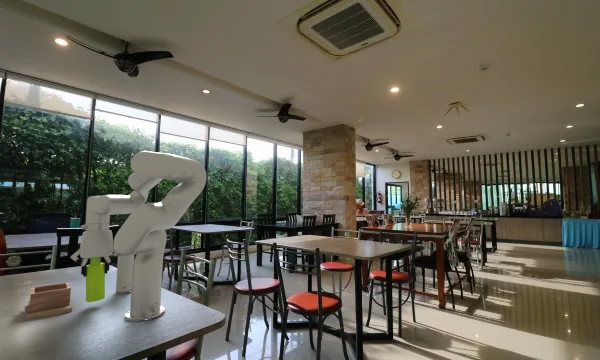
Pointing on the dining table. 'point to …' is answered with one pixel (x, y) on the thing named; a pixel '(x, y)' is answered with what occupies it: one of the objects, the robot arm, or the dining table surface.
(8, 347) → the dining table surface
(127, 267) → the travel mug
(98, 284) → the soap dispenser
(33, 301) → the socket caddy
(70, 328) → the dining table surface
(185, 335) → the dining table surface
